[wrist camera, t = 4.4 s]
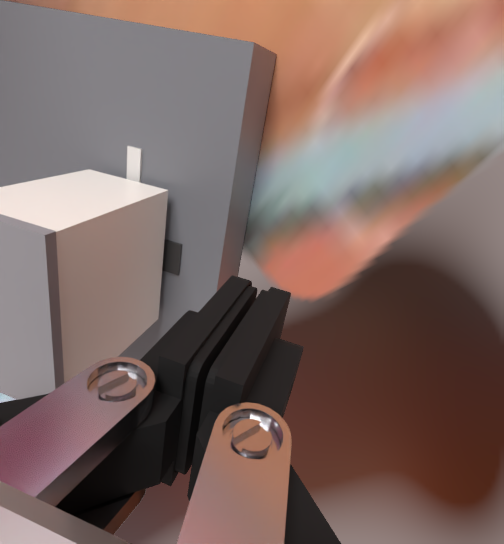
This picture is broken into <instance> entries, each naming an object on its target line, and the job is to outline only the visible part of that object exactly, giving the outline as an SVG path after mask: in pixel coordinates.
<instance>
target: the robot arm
mask: <svg viewBox="0 0 504 544" xmlns="http://www.w3.org/2000/svg"><path fill="white" fill-rule="evenodd" d="M256 295H257V288H255V287H252V282H251V281H249V280H246V279H243V278H239V277H236V276H233V275H232V276H231V277H230V278H229V279H228V280H227V281H226V282H225V283H224V284H223V286H222V287H221V288H220V289H219V290H218V291H217V292H216V293H215V294H214V296H213V297H212V298H211V299H210V300H209V301H208V302H207V303H206V304H205V305H204V307H203V308H202V309H201V310H200V311H199V312H195V311H192V310H189V311H187V312H186V313H185V314H184V315H183V316H182V317H181V318H180V319H179V320H178V321H177V322H176V323H175V324H174V325H173V326H172V327H171V328H170V329H169V330H168V332H167V333H166V334H165V335H164V336H163V337H162V338H161V339H160V340H159V341H158V342H157V343H156V344H155V345H154V346H153V347H152V348H151V349H150V350H149V351H148V352H147V353H146V354H145V355H144V356H143V357H142V358H141V359H140V360H137V359H134V358H128V357H113V358H108V359H104V360H101V361H99V362H97V363H95V364H93V365H91V366H89V367H88V368H86V369H85V370H83V371H82V372H80V373H79V374H77V375H76V376H74V377H73V378H71V379H70V380H68V381H67V382H65V383H64V384H63V385H61V386H60V387H58V388H57V389H55V390H54V391H52V392H51V393H49V394H44V395H39V396H34V397H29V398H24V399H18V400H13V401H8V402H3V403H0V544H131V543H129V542H127V541H125V540H123V539H121V538H119V537H117V536H114V533H115V532H116V531H117V530H118V529H119V527H120V526H121V525H122V524H123V522H124V521H125V520H126V519H127V518H128V516H129V515H130V514H131V513H132V512H133V510H134V509H135V508H136V507H137V505H138V504H139V503H140V501H141V500H142V498H143V497H144V495H145V492H146V488H149V487H152V486H155V485H158V484H160V482H162V483H165V484H167V485H169V486H171V485H172V483H173V481H174V480H175V478H176V476H177V474H178V472H180V473H182V474H186V473H187V472H188V470H189V468H190V467H191V465H192V468H191V475H190V482H189V489H188V498H189V501H190V502H189V506H188V509H187V512H186V515H185V518H184V522H183V525H182V528H181V531H180V534H179V537H178V540H177V544H341V543H340V541H339V540H338V538H337V537H336V535H335V533H334V532H333V530H332V529H331V527H330V525H329V524H328V522H327V521H326V519H325V518H324V516H323V514H322V513H321V512H320V510H319V508H318V507H317V505H316V503H315V502H314V500H313V499H312V497H311V495H310V494H309V492H308V491H307V489H306V488H305V486H304V485H303V483H302V481H301V480H300V478H299V477H298V475H297V474H296V472H295V471H294V469H293V467H292V466H291V464H290V457H291V444H292V441H291V432H290V430H289V428H288V425H287V423H286V422H285V421H284V419H283V415H284V412H285V409H286V406H287V403H288V400H289V396H290V393H291V390H292V387H293V383H294V380H295V376H296V373H297V369H298V366H299V362H300V358H301V355H302V352H303V346H300V345H297V344H294V343H291V342H288V341H285V340H282V339H280V337H281V333H282V329H283V325H284V320H285V316H286V312H287V308H288V304H289V299H290V295H291V293H290V292H287V291H283V290H280V289H276V288H273V287H271V288H270V289H269V291H265V290H262V291H261V292H260V294H259V295H258V297H257V298H256Z"/></svg>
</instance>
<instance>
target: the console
mask: <svg viewBox="0 0 504 544" xmlns="http://www.w3.org/2000/svg"><path fill="white" fill-rule="evenodd" d="M275 60H276V54H275V53H273V52H271V51H269V50H267V49H266V48H264V47H262V46H260V45H258V44H256V43H254V42H248V41H242V40H236V39H230V38H224V37H218V36H213V35H207V34H201V33H195V32H189V31H183V30H177V29H171V28H165V27H159V26H153V25H147V24H141V23H135V22H129V21H123V20H117V19H111V18H105V17H99V16H93V15H87V14H81V13H76V12H70V11H64V10H58V9H52V8H46V7H40V6H34V5H28V4H22V3H16V2H10V1H4V0H0V187H3V186H8V185H13V184H18V183H23V182H28V181H33V180H38V179H43V178H48V177H53V176H58V175H63V174H68V173H73V172H78V171H83V170H88V169H90V170H94V171H98V172H102V173H105V174H109V175H113V176H117V177H121V178H124V179H128V180H132V181H136V182H140V183H143V184H147V185H151V186H155V187H158V188H162V189H166V190H168V201H167V214H166V227H165V240H164V252H163V265H162V278H161V291H160V304H159V317H158V320H157V321H155V322H154V323H153V324H152V325H151V326H150V327H149V328H148V329H147V330H146V331H145V332H144V333H143V334H142V335H140V336H139V337H138V338H137V339H136V340H135V341H134V342H133V343H132V344H131V345H130V346H129V347H128V348H126V349H125V350H124V351H123V352H122V353H121V354H120V355H119V356H118V357H128V358H134V359H137V360H140V359H141V358H142V357H143V356H144V355H145V354H146V353H147V352H148V351H149V350H150V349H151V348H152V347H153V346H154V345H155V344H156V343H157V342H158V341H159V340H160V339H161V338H162V337H163V336H164V335H165V334H166V333H167V332H168V330H169V329H170V328H171V327H172V326H173V325H174V324H175V323H176V322H177V321H178V320H179V319H180V318H181V317H182V316H183V315H184V314H185V313H186V312H187V311H189V310H192V311H195V312H199V311H200V310H201V309H202V308H203V307H204V305H205V304H206V303H207V302H208V301H209V300H210V299H211V298H212V297H213V296H214V294H215V293H216V292H217V291H218V290H219V289H220V288H221V287H222V286H223V284H224V283H225V282H226V281H227V280H228V279H229V278H230V277H231V276H232V275H233V276H236V277H238V272H239V266H240V260H241V255H242V249H243V243H244V238H245V232H246V226H247V220H248V215H249V209H250V203H251V197H252V192H253V186H254V180H255V175H256V169H257V163H258V157H259V152H260V146H261V140H262V135H263V129H264V123H265V117H266V112H267V106H268V100H269V95H270V89H271V83H272V77H273V72H274V66H275Z"/></svg>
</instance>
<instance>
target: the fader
mask: <svg viewBox="0 0 504 544" xmlns="http://www.w3.org/2000/svg"><path fill="white" fill-rule="evenodd" d="M167 201H168V190H166V189H162V188H158V187H155V186H151V185H147V184H143V183H140V182H136V181H132V180H128V179H124V178H121V177H117V176H113V175H109V174H105V173H102V172H98V171H94V170H90V169H88V170H83V171H78V172H73V173H68V174H63V175H58V176H53V177H48V178H43V179H38V180H33V181H28V182H23V183H18V184H13V185H8V186H3V187H0V392H1V393H3V394H6V395H8V396H10V397H13V398H15V399H17V400H18V399H24V398H29V397H34V396H39V395H44V394H49V393H51V392H52V391H54V390H55V389H57V388H58V387H60V386H61V385H63V384H64V383H65V382H67V381H68V380H70V379H71V378H73V377H74V376H76V375H77V374H79V373H80V372H82V371H83V370H85V369H86V368H88V367H89V366H91V365H93V364H95V363H97V362H99V361H101V360H104V359H108V358H113V357H118V356H119V355H120V354H121V353H122V352H123V351H124V350H125V349H126V348H128V347H129V346H130V345H131V344H132V343H133V342H134V341H135V340H136V339H137V338H138V337H139V336H140V335H142V334H143V333H144V332H145V331H146V330H147V329H148V328H149V327H150V326H151V325H152V324H153V323H154V322H155V321H157V320H158V317H159V304H160V291H161V278H162V265H163V252H164V240H165V227H166V214H167Z"/></svg>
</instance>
